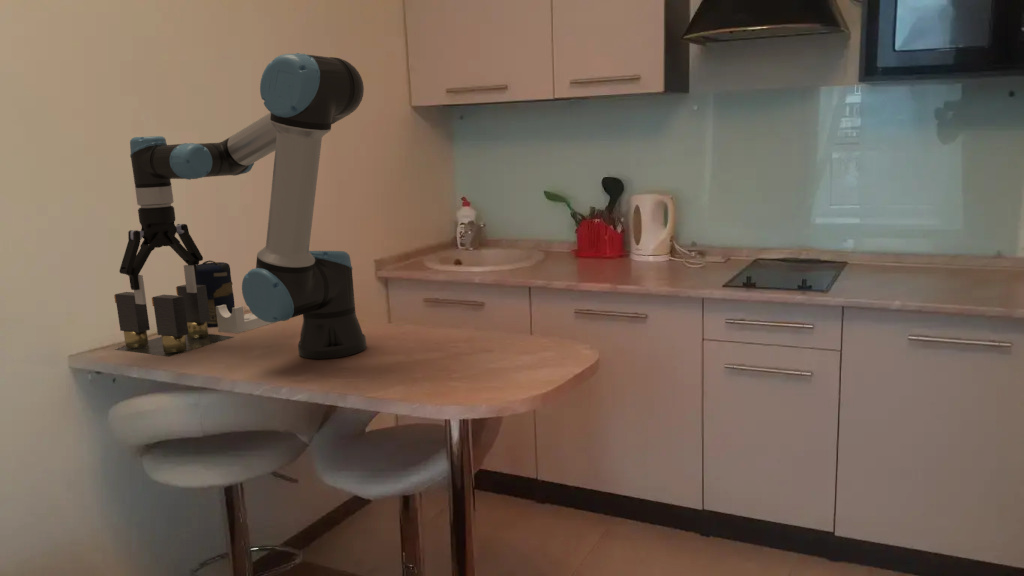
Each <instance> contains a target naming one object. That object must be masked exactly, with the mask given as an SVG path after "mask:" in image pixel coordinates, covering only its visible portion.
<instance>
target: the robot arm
mask: <svg viewBox="0 0 1024 576" xmlns="http://www.w3.org/2000/svg"><path fill="white" fill-rule="evenodd" d="M259 85H260V86H259V91H260V92H259V93H260V97H261V100H263V101H264V102H263V105H264V106H265V108H266V110H267V111H269V113H267V114H265V115H264V116H262V117H261V118H259V119H257V120H256V121H254V122H252V123H251V124H249V125H247V126H246V127H243V128H242V129H240V130H239V131H237V132H236V133H233V134H232V135H231V136H230V137H228V138H225V139H224V140H222V141H219V142H208V143H207V142H206V143H203V142H202V143H201V142H200V143H193V142H189V143H188V142H187V143H186V142H185V143H175V144H167V141H166V139H167V138H165V137H164V136H160V135H158V136H157V135H156V136H155V135H154V136H136V137H135V136H134V137H132V138H131V139H130V141H129V145H130V146H129V147H130V149H129V150H130V155H129V157H130V161H131V166H132V167H131V168H132V173H133V181H134V188H135V198H136V202H137V203H136V205H138V206H140V207H138V209H137V213H138V214H137V215H138V219H139V220H138V221H139V224H140V226H141V229H140V230H136V229H135V230H134V229H133V230H131V229H130V230H129V231H128V232H127V233H128V234H127V235H128V237H127V238H128V239H127V240H128V241H127V245H126V248H125V251H124V254H123V258H122V261H121V265H120V266H119V267H120V268H119V273H120V274H122V275H125V276H128V277H129V278H128V279H129V285H130V290H131V291H133V292H134V295H135V302H136V304H146V305H147V298H146V291H145V284H144V283H145V282H144V276H143V274H140V273H141V271H142V269H143V267H144V266H145V265H146V262H147V260H148V258H149V256H150V255H151V253H152V252H153V251H154V250H155V249H156V248H157V249H158V248H162V247H170V248H171V249H172V250H173V251H174V252H175V254H176V255H177V256H179V257H180V259H182V261H184V262H185V264H184V265H183V271H184V279H185V285H186V290H187V292H189V293H197V288H196V279H195V278H197V269H196V265H199V264H200V262H201V261H203V259H204V257H203V255H202V253H201V251H200V250H199V248H198V246H197V245H196V243H195V241H194V240H193V238H192V236H191V234H190V232H189V231H190V230H189V227H188V225H187V224H186V223H177V224H175V221H176V213H175V207H174V206H173V205H172V204H173V203H174V201H175V200H174V194H173V188H172V187H173V186H172V182H171V180H175V179H176V180H190V181H191V180H198V179H202V178H211V177H222V176H223V177H224V176H225V177H227V176H240V175H244V174H247V173H249V172H251V170H252V168H253V167H254V164H255V163H256V162H257V161H260V160H261V159H263V158H265V157H266V156H268V155H270V154H272V153H273V152H274V160H273V171H272V181H271V192H270V202H269V211H268V213H269V214H268V222H267V230H266V243H265V246H264V247H263V248H262V249H260V250H259V251H258V252H257V254H256V262H255V263H256V264H255V265H256V266H255V268H252V269H250V270H249V271H247V273H246V274H245V275H244V276H243V279H242V283H241V291H242V292H241V293H242V296H243V300H244V302H245V305H246V306H247V307H248V308H249V311H250V313H253V314H254V315H255V316H256V317H257V318H259V319H261V320H263V321H265V322H271V323H272V322H275V323H277V322H278V323H279V322H286V321H289V320H290V319H292V318H295V317H298V316H302V318H303V319H302V325H301V331H300V337H299V338H300V339H299V341H298V343H297V347H298V355H299V356H300V357H302V358H306V359H313V360H315V359H316V360H319V359H320V360H322V359H323V360H324V359H325V360H326V359H335V358H342V357H347V356H352V355H356V354H359V353H361V352H363V351H365V350H366V349H367V339H366V335H365V334H364V333H363V331H362V328H361V327H362V326H361V325H360V322H359V319H358V317H357V313H356V312H357V311H356V303H355V291H354V279H353V278H354V277H353V266H352V261H351V257H350V256H351V255H350V254H349V253H348V252H347V251H344V250H310V243H311V235H312V228H313V227H312V226H313V217H314V210H315V209H314V208H315V201H316V200H315V199H316V191H317V185H318V183H317V182H318V176H319V167H320V158H321V157H320V156H321V149H322V141H323V137H324V136H325V135H327V134H328V133H330V132H331V131H332V125H333V124H335V123H337V122H339V121H341V120H343V119H344V118H347V116H350V115H352V113H354V112H355V111H356V110H357V109H358V107H360V104H361V103H362V101H363V97H364V93H365V90H364V89H365V88H364V86H365V85H364V82H363V78H362V76H361V74H360V72H359V71H358V69H357V68H356V67H355V66H354V65H353V64H351V63H350V62H349V61H347V60H346V59H342V58H340V57H334V56H333V57H332V56H321V55H313V54H308V53H307V54H306V53H299V52H296V53H284V54H283V53H282V54H280V55H278V56H275V58H273V59H272V61H269V63H268V64H267V65H266V67H265V69H264V71H263V73H262V75H261V78H260V84H259ZM176 234H177V235H178V237H179V239H180V240H179V239H178V238H177V237H176ZM142 239H143V241H142V242H141V240H142ZM181 242H182V243H181ZM182 244H183V245H182ZM272 324H273V323H272Z"/></svg>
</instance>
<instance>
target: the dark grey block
mask: <svg viewBox="0 0 1024 576" xmlns="http://www.w3.org/2000/svg"><path fill="white" fill-rule="evenodd" d="M151 303H152V307H153V310H154V316H155V324H156V331H157V335H158V336H161V337H162V343H163V350H164V352H166V353H172V352H179V351H183V350H185V349H187V346H186V339H185V335H187V334H189V333H188V326H187V318H186V310H185V303H184V296H178V295H177V294H160V295H156V296H152V297H151Z"/></svg>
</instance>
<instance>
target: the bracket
mask: <svg viewBox="0 0 1024 576" xmlns="http://www.w3.org/2000/svg"><path fill="white" fill-rule="evenodd" d="M244 313H245V312H244V307H243V305H242V306H241V305H240V306H235V308H232V314H230V313H229V311H228V309H227V306H226V305H221V306H217V307H216V315H217V323H218V327H217V329H218V332H221V333H229V334H230V333H231V334H240V333H245V332H246V331H251V330H254V329H257V328H262V327H264V326H269V325H272V324H274V323H276V322H272V323H271V322H265V321H263V320H261V319H259V318H257V317H256V316H255V315H254V314H253V313H252V312H250V313H246V314H244Z"/></svg>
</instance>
